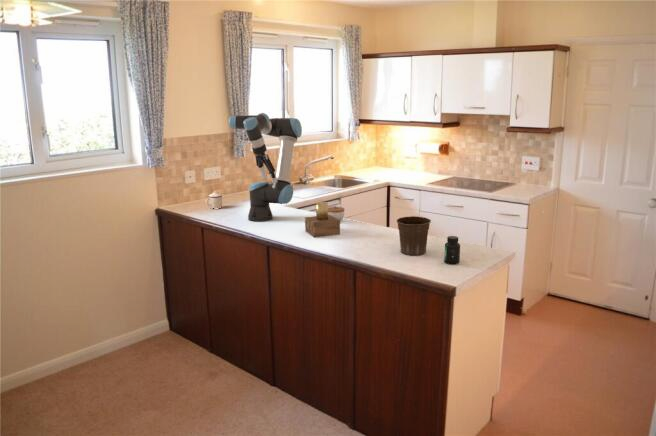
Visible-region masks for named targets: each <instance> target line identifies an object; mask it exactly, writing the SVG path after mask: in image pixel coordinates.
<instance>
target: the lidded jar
mask: <svg viewBox="0 0 656 436" xmlns="http://www.w3.org/2000/svg"><path fill="white" fill-rule="evenodd" d="M328 215H331V216H333V217H335V218H336V219H338V220H340V223H341V222H342V221H343V219H344V217H345V208H344V207H341V206H337V205H335V206H330V207H328Z"/></svg>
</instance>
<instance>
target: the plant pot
mask: <svg viewBox="0 0 656 436" xmlns="http://www.w3.org/2000/svg"><path fill="white" fill-rule="evenodd" d="M431 222H432V220H431V219H430V218H428V217H424V216H403V217H399V218H397V219H396V223H397V229H398V233H399V244H400V253H402V254H404V255H405V256H406V255H407V256H408V255H409V256H410V257H411V256H412V257H413V256H414V257H415V256H416V257H418V256H422V255H424V254H426V252H427V244H428V235H429V229H430V226H431V225H430V224H431Z"/></svg>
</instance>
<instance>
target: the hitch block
mask: <svg viewBox="0 0 656 436" xmlns="http://www.w3.org/2000/svg"><path fill="white" fill-rule="evenodd" d="M304 226H305V227H304V229H305V230H304V231H305V232H306V233H308V234H309V235H310V236H312V237H313V238H322V237H324V238H325V237H332V236H337V235H338V236H339V235H341V222H340V220H338V219H336V218H335V217H333V216H331V215H328V219H327V220H317V219H316V215H315V216H314V215H313V216H305V217H304Z"/></svg>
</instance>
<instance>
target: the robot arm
mask: <svg viewBox="0 0 656 436" xmlns="http://www.w3.org/2000/svg"><path fill="white" fill-rule="evenodd" d="M228 125H229V127H230V129H233V130H245V133H246V135H247V138H248V141H249V145H250V146H251V150H252V152H253V155H254V156H255V157H254V158H255V164H256V166H257V167H258V168H259V171H260V174H261V177H262V179H267V178H268V174H269V177H270V180H271V183H269V181H268V180H263V181H262V180H261V181H255V182H252V183H251V184H249V190H248V191H249V205H250V207H249V211H248V213H247V214H248V215H247V219H248V221H251V222H266V221H271V220H273V218H274V217H273V213H272V210H271V207H270V204H277V205H278V204H280V205H283V204H284V205H286V204H289V203H290V202H291V201H292V199H293V195H294V187H293V185H292V183H291V181H290V173H291V168H292V167H291V166H292V161H293V154H294V147H295V143H296V142H298V138H301V137H302V133H303V129H302V123H301V121H300V120H299V119H298V118H293V117H289V118H288V117H286V118H284V117H282V118H281V117H276V118H275V117H274V118H270V117H269V116H268V114H266V113H264V112H261V113H258V114H257V115H256V114H255V115H246V114H245V115H241V114H240V115H231V116H230V117H229V118H228ZM263 135H266V136H270V137H276V138H278V140H279V147H278V153H277V160H276V162H277V163H276V169H275V167H274V165H273V163H272V161H271V159H270V156H269V155H268V154H266V152H267V150H268V149H267V147H266V144H265V140H264V136H263ZM265 168H266V169H267V171H268V174H267V172H266V169H265Z"/></svg>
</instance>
